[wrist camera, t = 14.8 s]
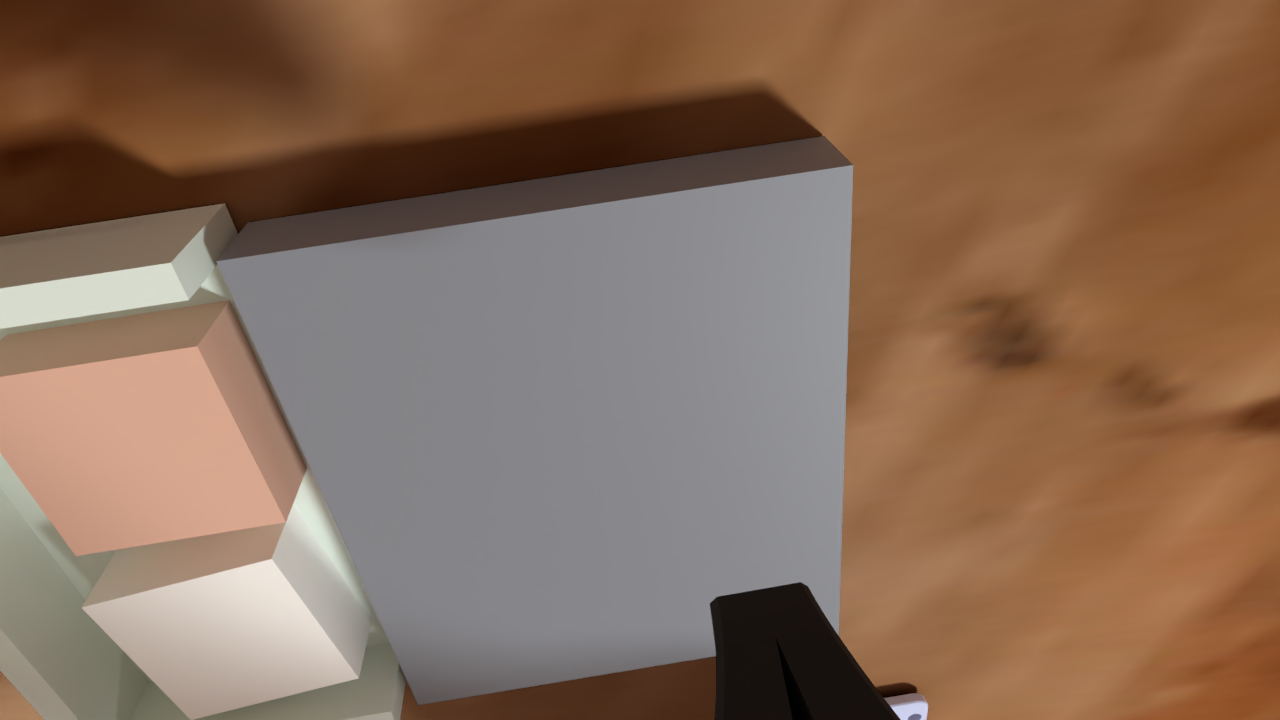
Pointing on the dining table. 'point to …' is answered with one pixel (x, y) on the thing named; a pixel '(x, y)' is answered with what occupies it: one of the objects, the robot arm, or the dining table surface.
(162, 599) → the cream tile
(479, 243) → the board
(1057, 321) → the dining table surface
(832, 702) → the robot arm
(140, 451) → the terracotta tile
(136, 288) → the tray
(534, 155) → the dining table surface
